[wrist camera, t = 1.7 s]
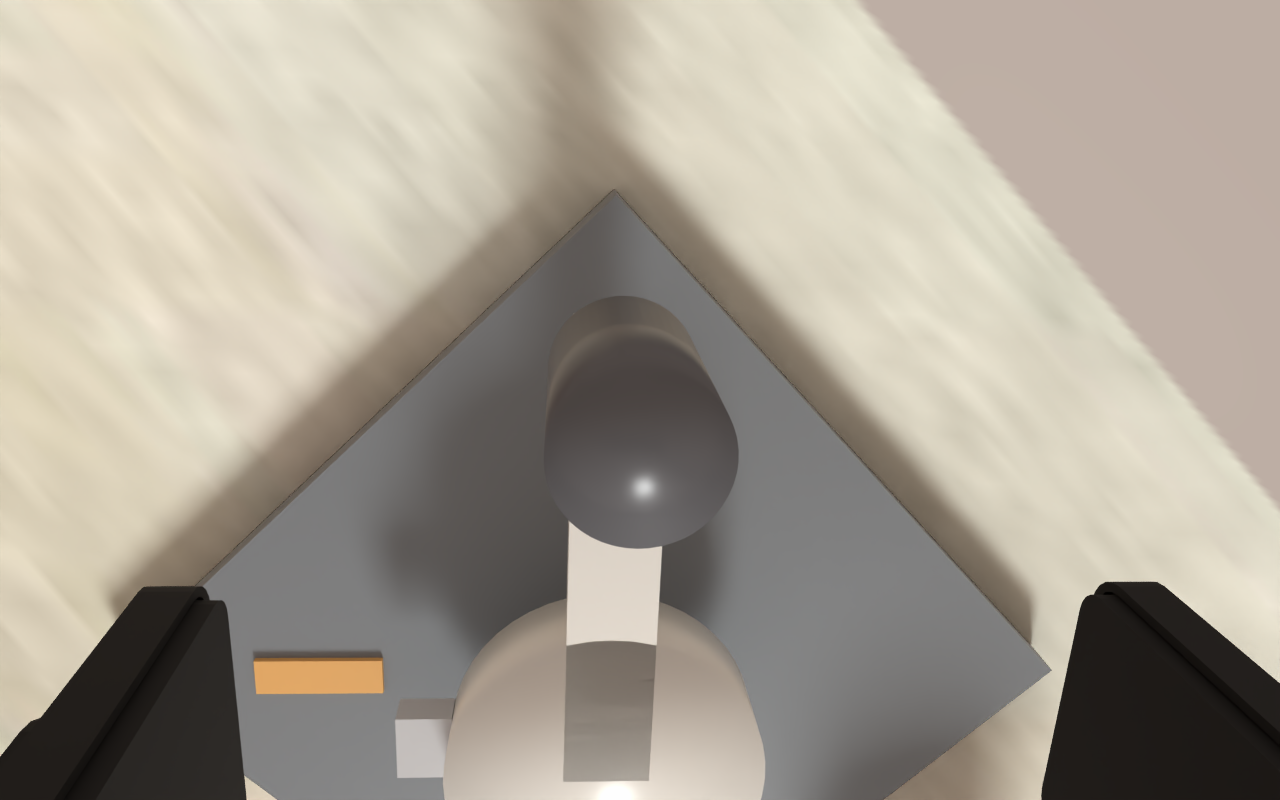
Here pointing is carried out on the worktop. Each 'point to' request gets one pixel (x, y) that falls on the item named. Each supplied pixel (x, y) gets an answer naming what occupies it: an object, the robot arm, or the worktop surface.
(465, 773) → the lever handle
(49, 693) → the worktop surface
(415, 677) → the post base
